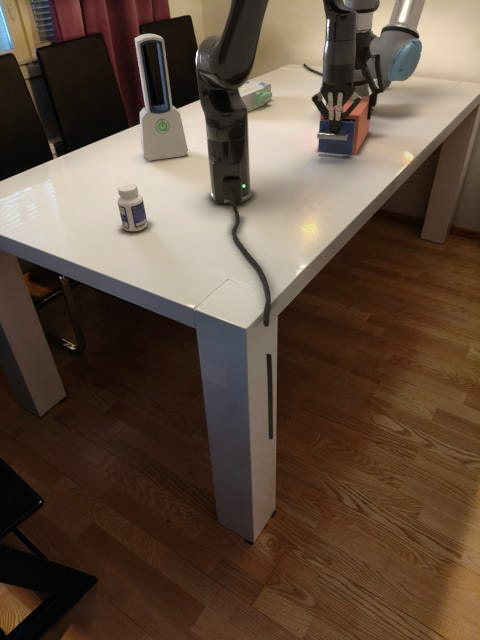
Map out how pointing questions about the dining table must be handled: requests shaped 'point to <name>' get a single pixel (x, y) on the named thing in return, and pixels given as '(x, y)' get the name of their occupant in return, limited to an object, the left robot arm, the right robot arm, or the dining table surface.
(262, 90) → the decorative block
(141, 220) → the pill bottle
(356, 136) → the cabinet
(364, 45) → the right robot arm
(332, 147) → the drawer
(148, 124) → the electronic device
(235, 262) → the dining table surface
